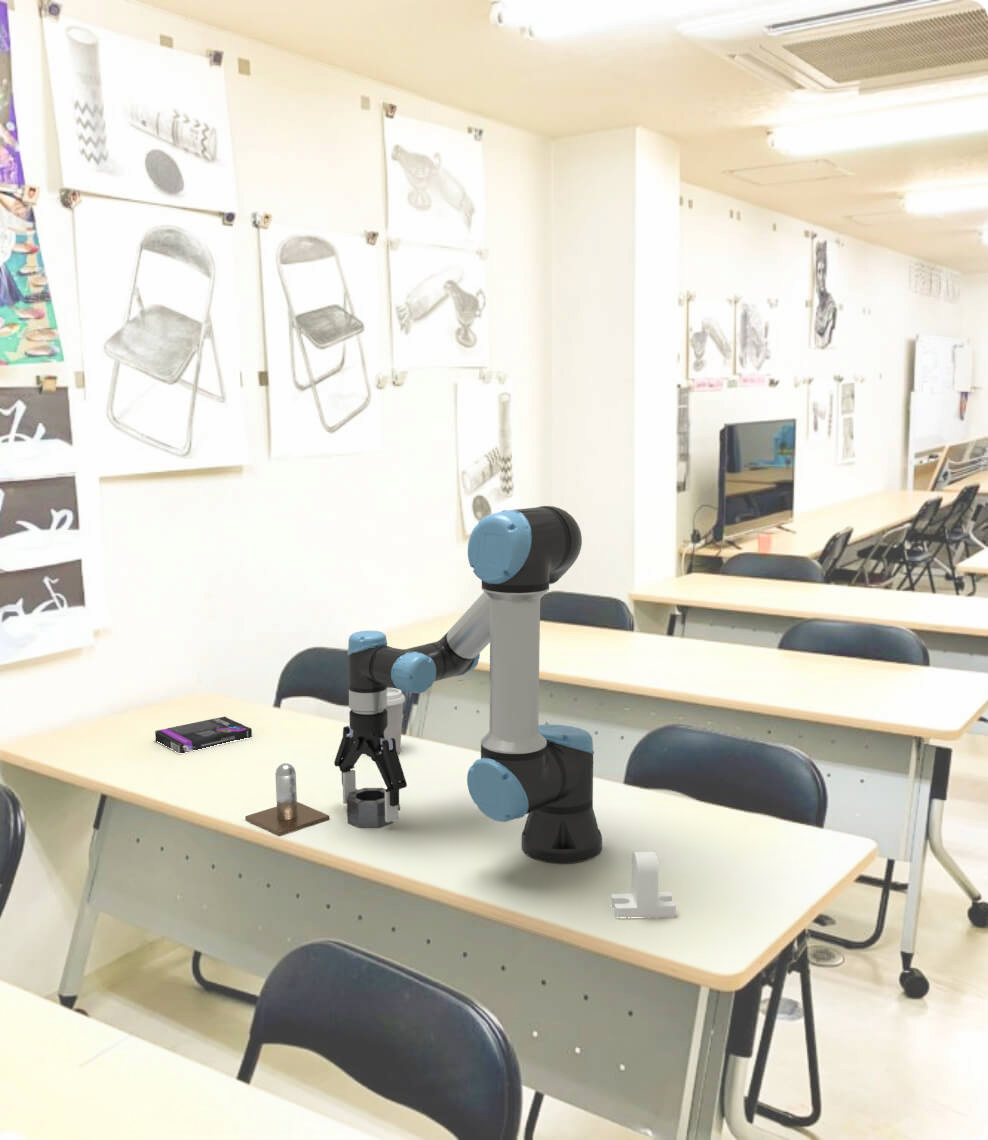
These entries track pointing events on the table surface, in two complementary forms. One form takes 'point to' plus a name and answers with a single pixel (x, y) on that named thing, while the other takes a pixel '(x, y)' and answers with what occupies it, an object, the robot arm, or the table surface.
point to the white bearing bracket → (644, 891)
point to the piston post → (286, 807)
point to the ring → (367, 808)
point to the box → (202, 734)
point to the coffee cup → (394, 716)
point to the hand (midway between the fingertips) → (370, 811)
